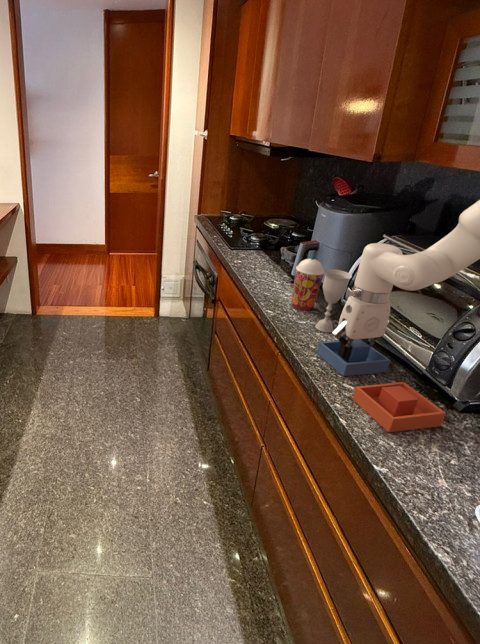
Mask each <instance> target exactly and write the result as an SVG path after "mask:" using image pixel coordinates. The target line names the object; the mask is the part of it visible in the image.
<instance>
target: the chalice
mask: <svg viewBox="0 0 480 644" xmlns="http://www.w3.org/2000/svg"><path fill="white" fill-rule="evenodd" d="M324 272H325V273H324V279H323V283H322V291H323V295H324V296H323V297H324V300H325V302H326V303H327V306H326V307H325V308H326V312H324V315H325V316H324V318H322V319H320V320H318V322H316V324H315V325H314V327H315V329H316V330H318V331H320V332H323V333H332V332H333V331H334V330H335V329H334V326H333V322H332V321H331V320H330V319H329V318H330V316H332V314H331V311H332V310H333V308H332V307H333V305H334V304H337V303H338V302H339V301H340V300H341V299H342V298H343V296H344V295H345V293H346V292H347V289H348V285H349V281H350V280H351V279H352V277H353V275H352V274H350V273H349V272H347V271H344V270H341V269H335V268H334V269H332V268H329V269H324Z"/></svg>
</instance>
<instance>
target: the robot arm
mask: <svg viewBox="0 0 480 644" xmlns="http://www.w3.org/2000/svg"><path fill="white" fill-rule="evenodd" d="M479 260H480V199H478V200H477V201H476V202H475V203H473V204H472V205H470V206H468V208H466V209H464V210H463V211H462V213H460V214H459V217H458V223H457V225H456V227H454V229H452V230H451V231H450V232H449V233H448V234H446V235H445V236H443V237H442V238H441V239H440V240H438V241H437V242H435V243H434V244H432V245H430V246H429V247H428V248H426V249H424V250H422V251H419V252H415V253H412V254H403V250H402V249H401V248H399V247H397V246H395V245H393V244H388V243H382V242H373V243H369V244H367V245H366V246H365V247H364V248H363V251H362V255H361V259H360V261H359V265H358V268H357V272H356V277H355V279H354V283H353V286H352V290H350V291H349V296H348V298H347V299H346V302H345V304H344V306H343V308H342V311H341V314H340V317H339V321H338V324H337V327H336V328H335V329H334V331H333V332H331V335H332V336H333V337H335V338H336V339H337V341H339V342H341V343H340V347H339V350H338V355H339V356H341V357H342V358H343V359H344V360H348V359H349V356H350V353H351V349H352V347H350V346H351V344H352V342H353V340H354V339H361V340H362V341H363V342H365V343H366V344H368V345H369V346H370V347H372V346H374V344H375V341H377V340H378V339H379V338H381V337H383V336H384V335H385V334H386V333H387V327H388V324H389V320H390V315H391V300H390V296H391V293H392V290H393V288H394V287H397V288H399V289H402V290H404V291H419V290H422V289H424V288H428V287H430V286H432V285H436V284H438V283H440V282H444V281H445V280H447V279H449V278H450V277H453V276H455V275H456V274H458V273H459V272H461V271H463V270H464V269H466V268H468V267H469V266H471V265H472V264H474V263H475V262H477V261H479ZM346 338H348V340H346Z"/></svg>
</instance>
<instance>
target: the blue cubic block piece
mask: <svg viewBox="0 0 480 644" xmlns="http://www.w3.org/2000/svg"><path fill="white" fill-rule="evenodd" d="M348 338H349V337H346V340H348ZM370 346H371V345H370ZM370 346H369V345H368V344H366V343H365V342H363V341H362V340H361V339H354V340H353V342H352V344H351V346H350V347H352V349H351V353H350V356H349V359H348V361H349V362H350V363H351V362H362V361H366V359H367V356H368V353H369V350H370Z"/></svg>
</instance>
